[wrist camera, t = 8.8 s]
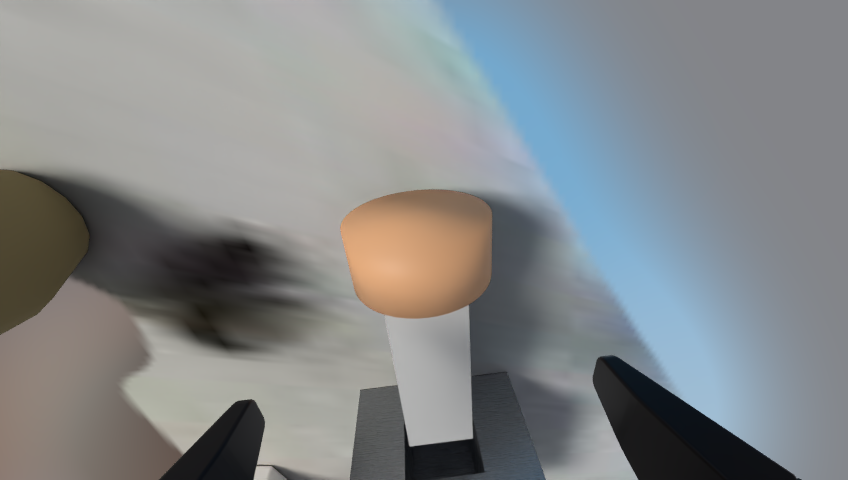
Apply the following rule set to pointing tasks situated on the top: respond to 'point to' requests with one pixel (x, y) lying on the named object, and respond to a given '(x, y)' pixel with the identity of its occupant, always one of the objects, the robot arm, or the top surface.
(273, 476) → the jar
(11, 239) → the squeeze bottle
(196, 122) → the top surface
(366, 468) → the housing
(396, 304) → the white and tan bar
